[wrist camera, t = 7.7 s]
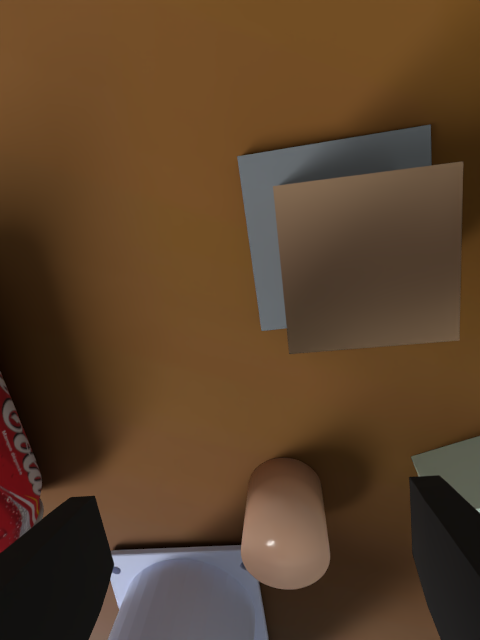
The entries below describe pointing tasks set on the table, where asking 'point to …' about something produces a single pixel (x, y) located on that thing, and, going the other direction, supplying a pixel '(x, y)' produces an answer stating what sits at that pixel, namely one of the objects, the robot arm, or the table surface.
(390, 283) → the walnut block
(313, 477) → the pinkish brown rounded cylinder
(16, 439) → the soda can
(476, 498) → the pale green cube
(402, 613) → the table surface
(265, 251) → the slate coaster
